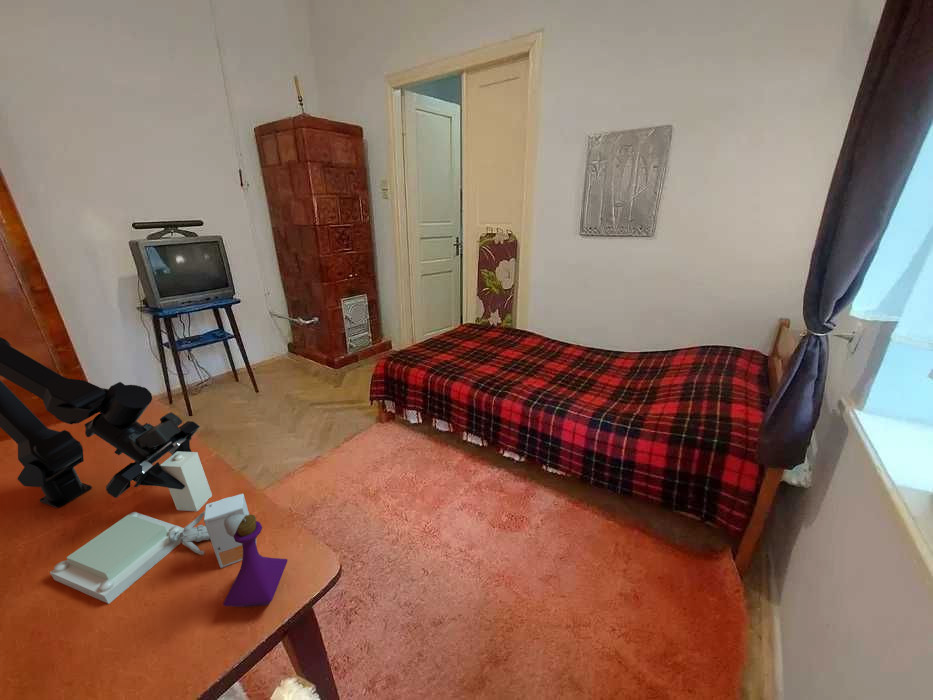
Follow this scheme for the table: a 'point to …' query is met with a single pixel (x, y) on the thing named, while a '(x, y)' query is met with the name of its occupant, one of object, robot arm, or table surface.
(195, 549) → the soldier figure
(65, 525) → the table surface
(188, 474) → the tall brick
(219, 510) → the skincare box
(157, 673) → the table surface
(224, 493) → the table surface
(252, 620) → the table surface
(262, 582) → the perfume bottle
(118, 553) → the studded pedestal base
